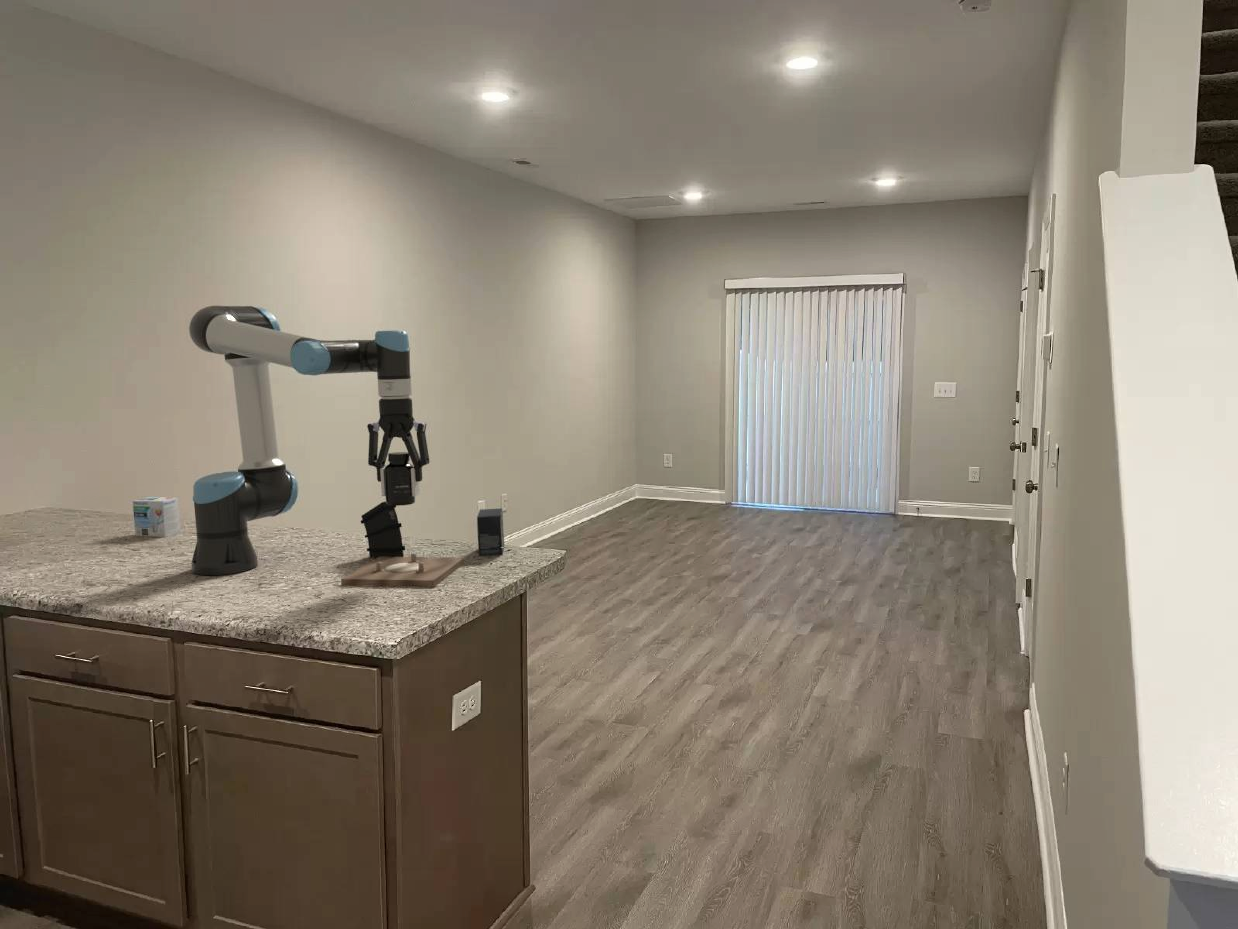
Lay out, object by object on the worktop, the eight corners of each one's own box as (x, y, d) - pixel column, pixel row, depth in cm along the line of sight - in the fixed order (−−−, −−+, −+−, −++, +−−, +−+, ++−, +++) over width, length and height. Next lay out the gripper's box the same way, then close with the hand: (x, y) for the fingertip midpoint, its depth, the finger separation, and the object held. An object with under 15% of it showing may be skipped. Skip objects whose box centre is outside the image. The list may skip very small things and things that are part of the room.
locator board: (341, 585, 211) (340, 570, 211) (379, 562, 233) (378, 548, 232) (434, 587, 208) (433, 571, 207) (464, 563, 229) (463, 549, 229)
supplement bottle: (400, 507, 213) (398, 455, 212) (379, 504, 217) (376, 454, 215) (421, 502, 219) (419, 452, 217) (401, 500, 223) (398, 450, 221)
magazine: (400, 557, 230) (381, 501, 232) (373, 573, 238) (355, 519, 240) (413, 555, 233) (394, 499, 235) (385, 570, 241) (367, 516, 243)
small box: (480, 547, 248) (478, 508, 246) (504, 546, 248) (503, 507, 247) (477, 556, 237) (475, 516, 236) (503, 555, 238) (501, 515, 236)
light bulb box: (134, 536, 273) (131, 500, 271) (150, 531, 279) (147, 496, 278) (166, 537, 270) (162, 500, 269) (181, 532, 277) (178, 497, 275)
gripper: (348, 399, 212) (354, 498, 215) (430, 397, 209) (435, 498, 213) (361, 397, 220) (367, 492, 223) (441, 395, 217) (446, 492, 220)
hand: (400, 495), depth 218 cm, fingers closed on supplement bottle, 7 cm apart
